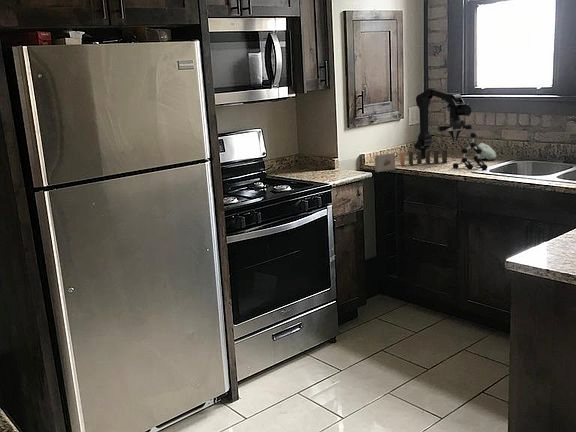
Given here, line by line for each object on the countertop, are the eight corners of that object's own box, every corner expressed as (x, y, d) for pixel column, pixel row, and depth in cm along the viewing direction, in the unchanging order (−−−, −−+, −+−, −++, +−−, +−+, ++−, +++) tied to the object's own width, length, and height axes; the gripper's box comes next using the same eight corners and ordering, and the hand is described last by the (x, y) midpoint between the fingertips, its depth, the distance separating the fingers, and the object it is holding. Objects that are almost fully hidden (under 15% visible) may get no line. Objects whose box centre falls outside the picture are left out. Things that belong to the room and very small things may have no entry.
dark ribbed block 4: (418, 165, 373) (418, 151, 372) (417, 163, 378) (416, 150, 376) (421, 164, 373) (421, 151, 371) (420, 163, 378) (419, 150, 376)
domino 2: (410, 165, 374) (409, 152, 372) (408, 164, 378) (408, 150, 377) (413, 165, 374) (412, 152, 372) (411, 163, 378) (411, 150, 376)
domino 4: (427, 164, 373) (426, 151, 371) (425, 163, 378) (425, 149, 376) (430, 164, 373) (430, 150, 371) (428, 162, 378) (428, 149, 376)
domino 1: (401, 166, 374) (401, 152, 372) (400, 164, 379) (400, 151, 377) (404, 165, 374) (404, 152, 372) (403, 164, 379) (403, 151, 377)
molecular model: (486, 170, 344) (486, 134, 339) (451, 169, 356) (451, 133, 351) (497, 165, 357) (498, 130, 352) (464, 163, 369) (464, 129, 364)
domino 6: (443, 163, 373) (443, 150, 371) (442, 162, 378) (441, 148, 376) (446, 163, 373) (446, 149, 371) (445, 161, 378) (445, 148, 376)
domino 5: (435, 163, 373) (435, 150, 371) (433, 162, 378) (433, 149, 376) (438, 163, 373) (438, 150, 371) (436, 162, 378) (436, 149, 376)
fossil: (378, 172, 359) (377, 155, 357) (374, 171, 362) (374, 155, 360) (395, 169, 364) (395, 153, 362) (392, 168, 367) (391, 152, 365)
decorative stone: (469, 158, 382) (472, 147, 374) (482, 150, 386) (485, 138, 378) (486, 170, 375) (488, 159, 367) (498, 162, 379) (501, 150, 371)
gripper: (441, 117, 361) (441, 144, 365) (474, 115, 360) (474, 142, 364) (437, 116, 372) (437, 142, 376) (469, 114, 371) (469, 140, 375)
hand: (454, 141), depth 372 cm, fingers closed
